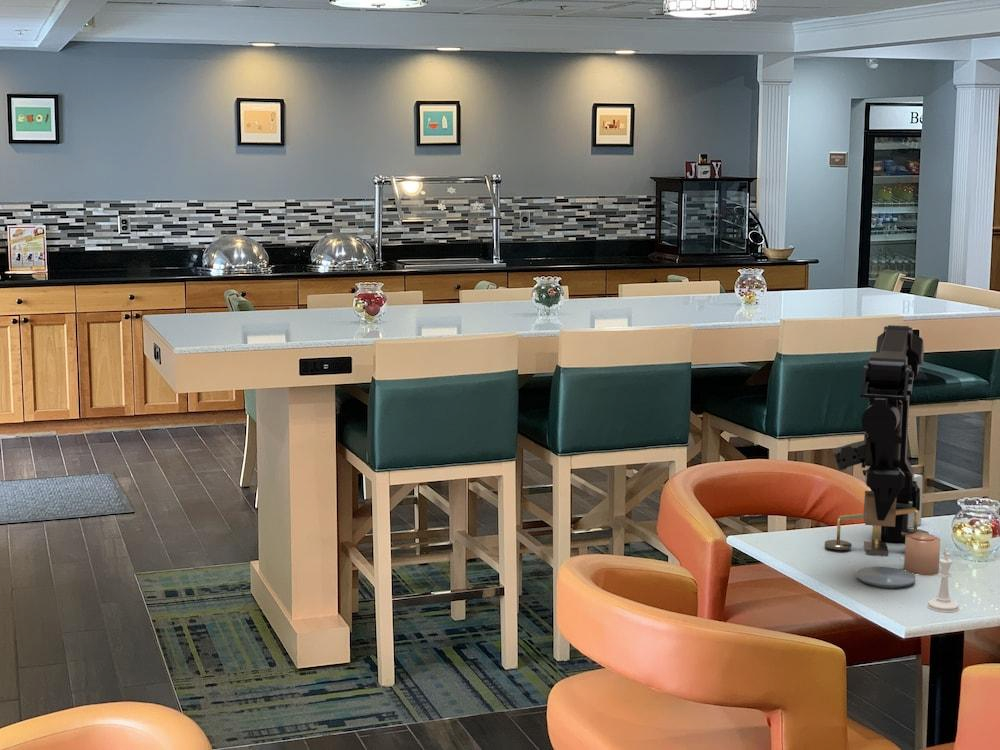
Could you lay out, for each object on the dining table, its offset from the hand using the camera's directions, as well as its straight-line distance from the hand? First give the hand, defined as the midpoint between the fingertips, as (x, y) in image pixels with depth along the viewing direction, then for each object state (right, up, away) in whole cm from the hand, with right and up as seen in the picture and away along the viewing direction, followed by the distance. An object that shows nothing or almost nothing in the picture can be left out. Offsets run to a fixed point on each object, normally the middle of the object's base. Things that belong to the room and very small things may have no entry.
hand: (879, 516), depth 228 cm
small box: (+15, -6, +39) cm, 42 cm away
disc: (+1, -11, +1) cm, 12 cm away
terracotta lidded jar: (+10, -11, +7) cm, 16 cm away
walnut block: (0, -1, 0) cm, 1 cm away
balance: (+5, -9, +19) cm, 22 cm away
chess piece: (+7, -14, -13) cm, 20 cm away
